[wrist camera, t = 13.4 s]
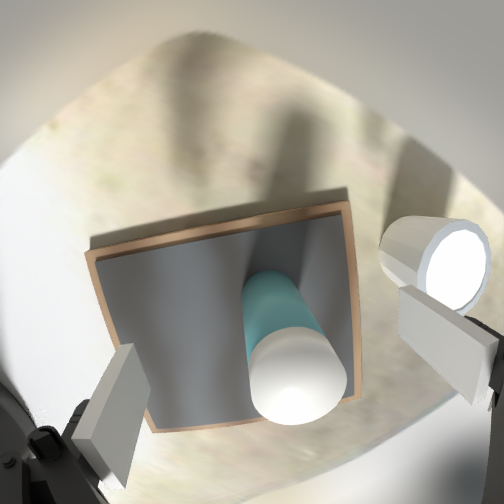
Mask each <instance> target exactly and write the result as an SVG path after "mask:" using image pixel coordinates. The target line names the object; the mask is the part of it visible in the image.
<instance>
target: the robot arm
mask: <svg viewBox="0 0 504 504" xmlns="http://www.w3.org/2000/svg"><path fill="white" fill-rule="evenodd" d="M399 336H400V337H401V338H402V339H403V340H404V341H405V342H406V343H407V344H408V345H409V346H410V347H411V348H412V349H414V350H415V351H416V352H417V353H418V354H419V355H420V356H421V357H422V358H423V359H424V360H425V361H426V362H427V363H428V364H429V365H430V366H432V367H433V368H434V369H435V370H436V371H437V372H438V373H439V374H440V375H441V376H442V377H443V378H444V379H445V380H446V381H447V382H448V383H449V384H450V385H451V386H452V387H453V388H454V389H455V390H456V391H458V392H459V393H460V394H461V395H462V396H463V397H464V398H465V399H466V400H467V401H468V402H469V403H470V404H471V405H474V404H475V403H477V402H479V401H481V400H482V399H484V398H485V397H486V393H487V390H488V386H490V387H491V388H492V389H493V390H494V392H493V395H492V398H491V402H490V405H489V408H488V411H490V410H491V407H492V416H491V435H490V447H489V457H488V466H487V474H486V480H485V486H484V492H483V498H482V503H481V504H504V336H502V335H501V334H499V333H498V332H496V331H495V330H493V329H491V328H489V327H488V326H487V325H485V324H483V323H482V322H480V321H479V320H477V319H475V318H472V317H469V316H462V315H460V314H459V313H457V312H455V311H454V310H452V309H451V308H449V307H447V306H446V305H444V304H443V303H441V302H439V301H438V300H436V299H434V298H433V297H431V296H429V295H428V294H426V293H425V292H423V291H421V290H420V289H418V288H416V287H415V286H413V285H411V284H410V285H407V286H403V287H400V288H399ZM150 391H151V387H150V385H149V382H148V380H147V377H146V375H145V372H144V370H143V367H142V365H141V362H140V359H139V357H138V354H137V351H136V349H135V346H134V343H131V344H123V345H119V347H118V348H117V350H116V352H115V354H114V356H113V358H112V359H111V361H110V363H109V365H108V367H107V369H106V370H105V372H104V374H103V376H102V378H101V380H100V382H99V384H98V386H97V387H96V389H95V391H94V393H93V395H92V397H91V399H86V400H83V401H82V402H81V403H80V404H79V405H78V406H77V407H76V409H75V411H74V413H73V416H71V418H70V420H69V423H68V424H67V426H66V428H65V430H64V432H63V434H62V436H60V434H59V433H58V431H57V430H56V429H55V428H54V427H52V426H42V427H39V428H37V429H36V428H35V426H34V424H33V423H32V421H31V419H30V418H29V416H28V415H27V413H26V412H25V410H24V409H23V408H22V407H21V405H20V404H19V403H18V402H17V400H16V399H15V398H14V397H13V396H12V395H11V394H10V393H9V392H8V391H7V390H6V389H5V388H4V387H3V386H2V385H1V384H0V504H109V502H108V501H107V499H106V498H105V496H104V495H103V493H102V492H101V491H100V489H99V488H98V484H99V480H101V481H102V483H103V484H104V485H105V486H106V488H110V489H125V488H126V483H127V479H128V475H129V471H130V467H131V463H132V459H133V455H134V451H135V447H136V443H137V439H138V435H139V431H140V428H141V424H142V420H143V416H144V413H145V409H146V406H147V402H148V398H149V395H150Z"/></svg>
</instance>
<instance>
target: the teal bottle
mask: <svg viewBox="0 0 504 504" xmlns="http://www.w3.org/2000/svg"><path fill="white" fill-rule="evenodd" d="M241 303H242V313H243V323H244V333H245V342H246V352H247V361H248V371H249V380H250V389H251V397H252V402H253V404H254V406H255V408H256V410H257V411H258V412H259V413H260V414H261V415H262V416H263V417H265V418H266V419H268V420H270V421H273V422H276V423H279V424H286V425H296V424H303V423H307V422H311V421H313V420H316V419H318V418H320V417H322V416H324V415H325V414H327V413H328V412H329V411H331V410H332V409H333V408H334V407H335V406H336V405H337V404H338V402H339V401H340V400H341V398H342V396H343V394H344V392H345V389H346V385H347V375H346V371H345V369H344V367H343V365H342V363H341V361H340V360H339V358H338V356H337V355H336V353H335V351H334V349H333V348H332V346H331V344H330V343H329V341H328V339H327V338H326V336H325V334H324V333H323V331H322V329H321V328H320V326H319V324H318V322H317V321H316V319H315V317H314V316H313V314H312V312H311V311H310V309H309V307H308V306H307V304H306V302H305V301H304V299H303V297H302V296H301V294H300V292H299V291H298V289H297V288H296V286H295V284H294V283H293V281H292V280H291V279H290V278H289V277H288V276H287V275H286V274H284V273H282V272H280V271H276V270H265V271H261V272H258V273H256V274H254V275H253V276H252V277H250V278H249V279H248V280H247V282H246V283H245V285H244V287H243V289H242V293H241Z"/></svg>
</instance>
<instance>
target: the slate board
mask: <svg viewBox="0 0 504 504" xmlns="http://www.w3.org/2000/svg"><path fill="white" fill-rule="evenodd" d="M84 254H85V258H86V261H87V265H88V269H89V272H90V276H91V279H92V282H93V286H94V289H95V292H96V296H97V299H98V302H99V305H100V308H101V311H102V314H103V317H104V320H105V323H106V326H107V328H108V331H109V334H110V337H111V339H112V342H113V345H114V347H115V350H117V348H118V347H119V345H123V344H131V343H134V346H135V349H136V351H137V354H138V357H139V359H140V362H141V365H142V367H143V370H144V372H145V375H146V377H147V380H148V382H149V385H150V387H151V391H150V395H149V398H148V402H147V406H146V409H145V413H144V417H145V419H146V421H147V423H148V425H149V427H150V429H151V431H152V433H166V432H180V431H192V430H202V429H211V428H219V427H227V426H234V425H241V424H247V423H253V422H259V421H265V420H268V419H266V418H265V417H263V416H262V415H261V414H260V413H259V412H258V411H257V410H256V408H255V406H254V404H253V402H252V397H251V389H250V380H249V371H248V361H247V352H246V342H245V333H244V323H243V313H242V303H241V293H242V289H243V287H244V285H245V283H246V282H247V280H248V279H249V278H250V277H252V276H253V275H254V274H256V273H258V272H261V271H265V270H276V271H280V272H282V273H284V274H286V275H287V276H288V277H289V278H290V279H291V280H292V281H293V283H294V284H295V286H296V288H297V289H298V291H299V292H300V294H301V296H302V297H303V299H304V301H305V302H306V304H307V306H308V307H309V309H310V311H311V312H312V314H313V316H314V317H315V319H316V321H317V322H318V324H319V326H320V328H321V329H322V331H323V333H324V334H325V336H326V338H327V339H328V341H329V343H330V344H331V346H332V348H333V349H334V351H335V353H336V355H337V356H338V358H339V360H340V361H341V363H342V365H343V367H344V369H345V371H346V375H347V385H346V389H345V392H344V394H343V396H342V398H341V400H340V401H339V402H338V404H340V403H344V402H348V401H351V400H355V399H358V398H361V392H362V372H361V330H360V309H359V293H358V279H357V267H356V256H355V245H354V236H353V227H352V218H351V210H350V203H349V201H346V200H342V201H336V202H330V203H324V204H318V205H312V206H306V207H300V208H294V209H289V210H283V211H277V212H272V213H266V214H261V215H255V216H250V217H245V218H239V219H234V220H229V221H223V222H218V223H213V224H208V225H203V226H198V227H193V228H188V229H183V230H178V231H173V232H168V233H164V234H159V235H154V236H149V237H145V238H140V239H135V240H131V241H126V242H122V243H117V244H113V245H108V246H104V247H99V248H95V249H90V250H88V251H86V252H84Z"/></svg>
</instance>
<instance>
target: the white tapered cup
mask: <svg viewBox="0 0 504 504" xmlns="http://www.w3.org/2000/svg"><path fill="white" fill-rule="evenodd" d="M379 260H380V264H381V266H382V268H383V271H384V273H385V274H386V275H387V276H388V277H389V278H390V279H392V280H393V281H394V282H395V283H396V284H397V285H398V286H399V287H403V286H407V285H410V284H411V285H413V286H415V287H416V288H418V289H420V290H421V291H423V292H425V293H426V294H428V295H429V296H431V297H433V298H434V299H436V300H438V301H439V302H441V303H443V304H444V305H446V306H447V307H449V308H451V309H452V310H454V311H455V312H457V313H459V314H460V315H462V316H463V315H464V314H465V313H466V312H468V311H469V310H470V309H471V308H472V307H473V306H474V305H475V304H476V302H477V301H478V299H479V298H480V296H481V295H482V293H483V292H484V290H485V287H486V284H487V281H488V278H489V275H490V270H491V250H490V246H489V242H488V238H487V236H486V235H485V233H484V232H483V231H482V229H481V228H480V227H479V225H477V224H475V223H473V222H470V221H468V220H465V219H454V218H441V217H428V216H413V215H411V216H405V217H400V218H399V219H397V220H396V221H394V222H393V223H391V224H390V225H389V227H388V228H387V230H386V231H385V233H384V234H383V236H382V239H381V243H380V246H379Z"/></svg>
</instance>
